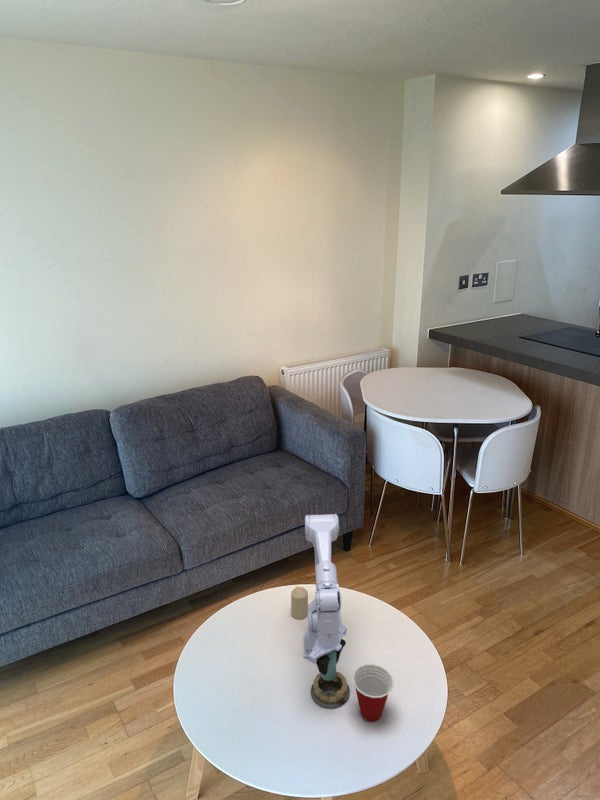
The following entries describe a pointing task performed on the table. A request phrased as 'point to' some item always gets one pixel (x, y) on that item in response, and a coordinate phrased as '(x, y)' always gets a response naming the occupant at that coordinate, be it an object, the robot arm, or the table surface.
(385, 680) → the plastic cup
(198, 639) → the table surface
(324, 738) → the table surface
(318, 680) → the ring holder
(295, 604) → the candle
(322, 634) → the robot arm
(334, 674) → the peg
